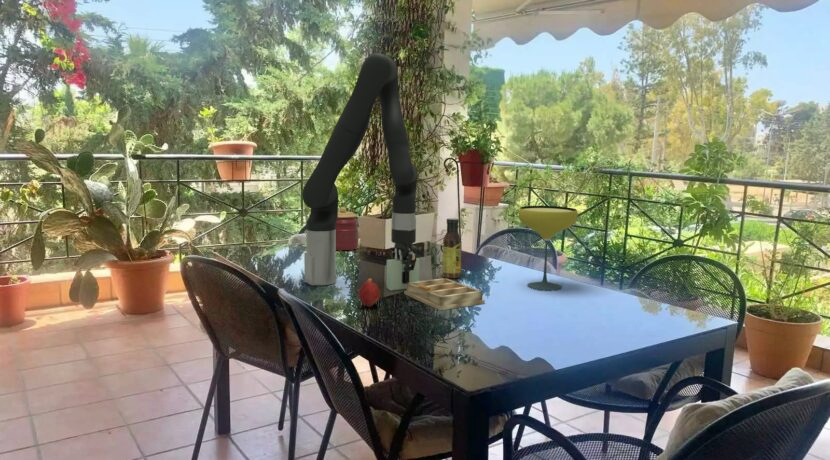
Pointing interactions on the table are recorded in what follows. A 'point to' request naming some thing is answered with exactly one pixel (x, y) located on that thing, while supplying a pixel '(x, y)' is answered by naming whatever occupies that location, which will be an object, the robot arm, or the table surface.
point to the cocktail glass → (547, 231)
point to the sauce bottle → (452, 250)
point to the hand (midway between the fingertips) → (402, 281)
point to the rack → (444, 294)
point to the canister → (346, 230)
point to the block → (400, 274)
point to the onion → (369, 293)
